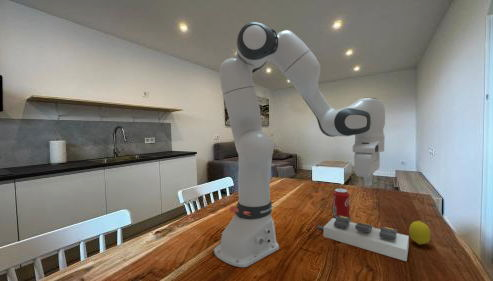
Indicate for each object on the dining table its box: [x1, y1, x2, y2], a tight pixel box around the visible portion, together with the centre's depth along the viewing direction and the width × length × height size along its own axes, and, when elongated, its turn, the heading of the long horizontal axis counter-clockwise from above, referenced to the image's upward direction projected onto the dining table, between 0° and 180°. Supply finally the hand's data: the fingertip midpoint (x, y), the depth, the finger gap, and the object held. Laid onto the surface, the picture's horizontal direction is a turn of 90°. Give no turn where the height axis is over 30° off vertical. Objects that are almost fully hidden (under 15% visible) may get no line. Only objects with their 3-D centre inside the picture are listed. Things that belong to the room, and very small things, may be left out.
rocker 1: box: [334, 215, 352, 229], centre depth 78 cm, size 6×4×2 cm, turn 140°
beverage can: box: [332, 188, 350, 219], centre depth 93 cm, size 6×6×12 cm
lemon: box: [408, 220, 432, 246], centre depth 70 cm, size 6×6×8 cm
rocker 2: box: [355, 221, 373, 232], centre depth 73 cm, size 6×4×2 cm, turn 140°
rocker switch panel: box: [317, 217, 410, 262], centre depth 74 cm, size 10×28×4 cm, turn 50°
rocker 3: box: [380, 225, 398, 240], centre depth 69 cm, size 6×4×2 cm, turn 140°
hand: (368, 185), depth 74 cm, fingers closed
